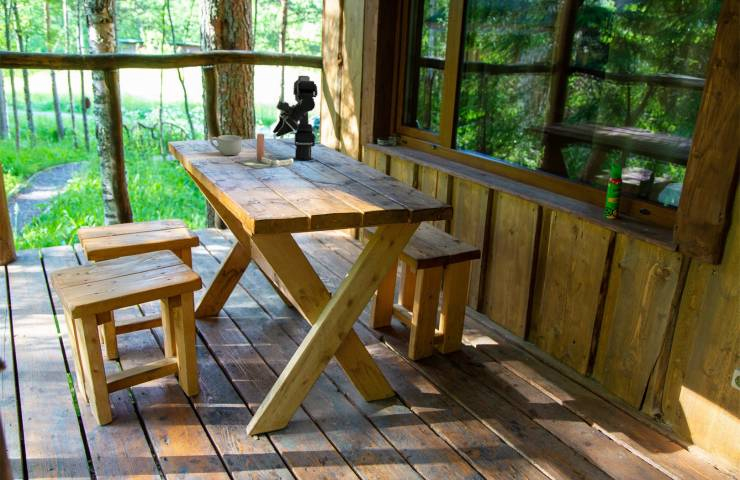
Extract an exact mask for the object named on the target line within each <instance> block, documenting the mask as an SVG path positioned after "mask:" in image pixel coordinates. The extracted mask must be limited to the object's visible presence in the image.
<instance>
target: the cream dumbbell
mask: <svg viewBox="0 0 740 480" xmlns="http://www.w3.org/2000/svg"><path fill="white" fill-rule="evenodd" d="M279 160H280V159H277V160H274V161H275V165H276V167H275V168H279V165H282V164H290V165H289V166H293V165H294V158H288V159H282V160H281V161H279ZM282 162H283V163H282Z"/></svg>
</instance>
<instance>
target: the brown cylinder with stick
mask: <svg viewBox="0 0 740 480" xmlns="http://www.w3.org/2000/svg"><path fill="white" fill-rule="evenodd" d="M267 158H268V157H265V134H264V133H256V159H257V161H262V162H265V163H268V164H271V165H275V161H272V160H270V159H267Z"/></svg>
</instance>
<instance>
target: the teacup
mask: <svg viewBox="0 0 740 480" xmlns="http://www.w3.org/2000/svg"><path fill="white" fill-rule="evenodd" d="M213 140H215V141H216V143H217V145H216V144H215V143H214V142H213ZM209 143H210V145H211V146H212V147H213V148H216V150H217V151H219V152H220V153H221V155H223V156H226V155H236V156H238V155H239V154H240V153H241V152H242V149H243V137H242V136H239V135H233V134H224V135H223V134H222V135H219V136H217V137H216V136H213V137H211V138H210V140H209Z"/></svg>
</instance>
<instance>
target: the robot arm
mask: <svg viewBox="0 0 740 480" xmlns="http://www.w3.org/2000/svg"><path fill="white" fill-rule="evenodd" d="M297 77H298V78H297V80H295V81H294V82H293V91H292V92H293V95H294V100H295V101H296V104H292V105H291V106H290V103H289V102H286V101H284V102H283V101H281V100H279V101H278V103H277V105H276V109H278V110H280V111H281V112H280V113H279V116H278V118H279V119H278V122H277V124H276V125H275V127H274V129H273V130H272V133H274V134H275V137H276V138H278V137H282V136H284V135H287V134H289V133H292V132H294V139H293V140H294V141H293V144H294V146H295V149H294V150H295V153H294V154H295V156H294V157H293V160H297V161H302V162H303V161H313V160H314V158H313V157H312V148H314V147H315V146H316V135H315V133H314V132H313V125H312V124H311V123H309V112H312V111H313V110H314V109H315V106H316V102H315V99H314V98H317V96H318V86H317V84H316V83H315V81H314V80H310V79H311V78H310V76H308V75H298V76H297Z"/></svg>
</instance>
